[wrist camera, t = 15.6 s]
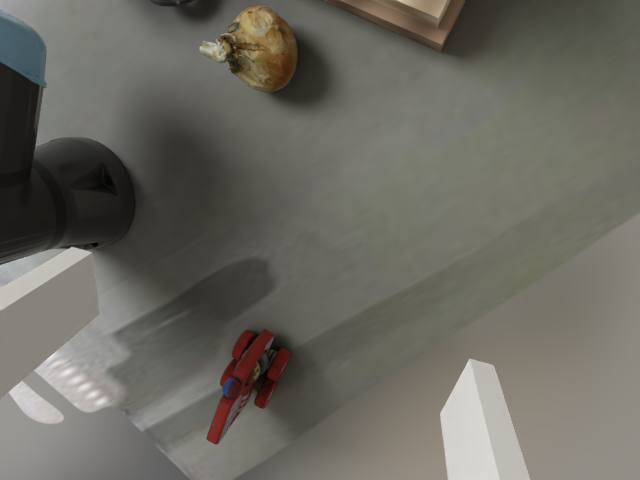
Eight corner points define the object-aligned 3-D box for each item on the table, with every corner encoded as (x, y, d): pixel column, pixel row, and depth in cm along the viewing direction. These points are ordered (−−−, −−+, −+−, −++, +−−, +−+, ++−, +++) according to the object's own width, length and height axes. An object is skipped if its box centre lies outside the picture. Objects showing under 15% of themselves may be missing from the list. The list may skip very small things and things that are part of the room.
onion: (275, 112, 41) (243, 106, 34) (227, 59, 41) (184, 42, 34) (321, 58, 39) (298, 39, 31) (270, 1, 39) (234, -31, 31)
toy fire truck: (299, 336, 49) (268, 386, 39) (269, 403, 53) (234, 462, 43) (253, 312, 49) (212, 355, 40) (227, 379, 54) (184, 433, 44)
